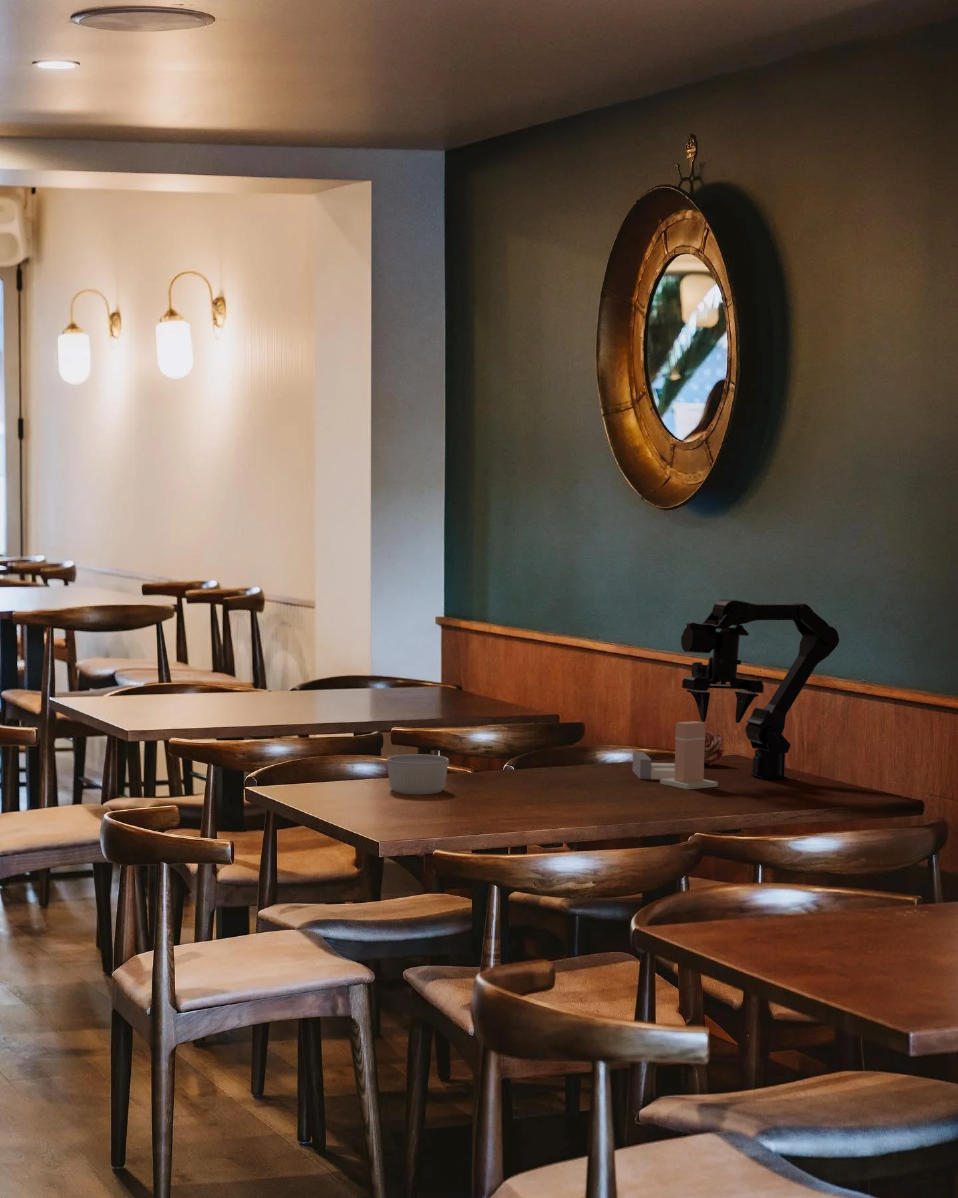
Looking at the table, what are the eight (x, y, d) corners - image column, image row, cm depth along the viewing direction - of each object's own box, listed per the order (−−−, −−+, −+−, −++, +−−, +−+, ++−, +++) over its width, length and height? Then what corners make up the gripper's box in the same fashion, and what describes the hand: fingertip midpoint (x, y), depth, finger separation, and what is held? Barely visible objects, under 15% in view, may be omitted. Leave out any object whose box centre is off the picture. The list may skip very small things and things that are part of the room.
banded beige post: (694, 778, 364) (696, 721, 364) (703, 780, 362) (705, 722, 361) (674, 780, 361) (675, 722, 360) (683, 782, 358) (685, 724, 358)
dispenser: (683, 772, 381) (683, 752, 381) (692, 780, 369) (692, 760, 369) (632, 771, 380) (633, 752, 380) (639, 779, 369) (640, 759, 368)
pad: (690, 780, 368) (690, 776, 368) (717, 786, 360) (717, 782, 360) (660, 783, 363) (660, 779, 363) (687, 789, 355) (687, 785, 355)
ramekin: (391, 796, 338) (391, 763, 337) (381, 786, 351) (382, 754, 350) (453, 795, 340) (454, 762, 340) (441, 785, 353) (442, 753, 353)
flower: (681, 753, 400) (681, 730, 395) (717, 746, 401) (717, 722, 396) (693, 780, 393) (693, 756, 388) (729, 773, 393) (730, 749, 389)
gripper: (741, 652, 382) (735, 719, 382) (672, 649, 374) (667, 717, 374) (767, 657, 371) (762, 725, 372) (697, 653, 364) (692, 723, 364)
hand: (720, 722), depth 371 cm, fingers open, 9 cm apart
